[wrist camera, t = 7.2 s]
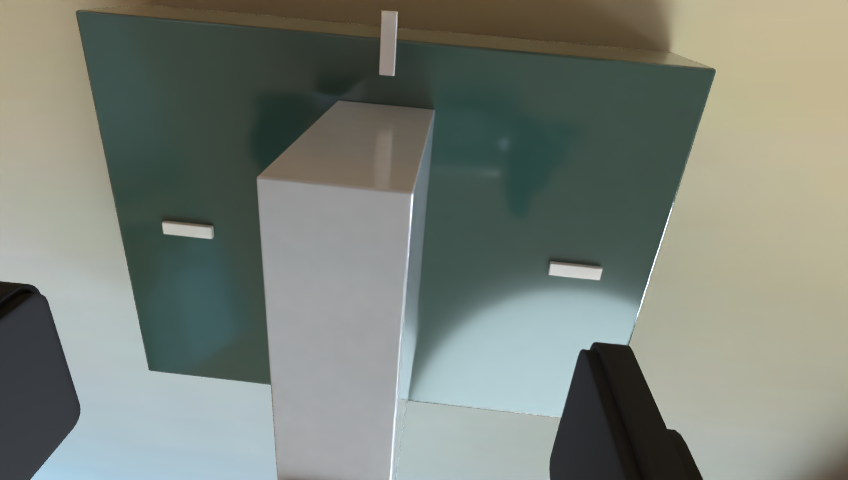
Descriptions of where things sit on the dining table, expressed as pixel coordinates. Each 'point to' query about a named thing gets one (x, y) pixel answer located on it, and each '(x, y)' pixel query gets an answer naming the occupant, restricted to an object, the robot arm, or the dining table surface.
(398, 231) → the tap handle
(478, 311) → the plate
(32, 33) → the dining table surface
